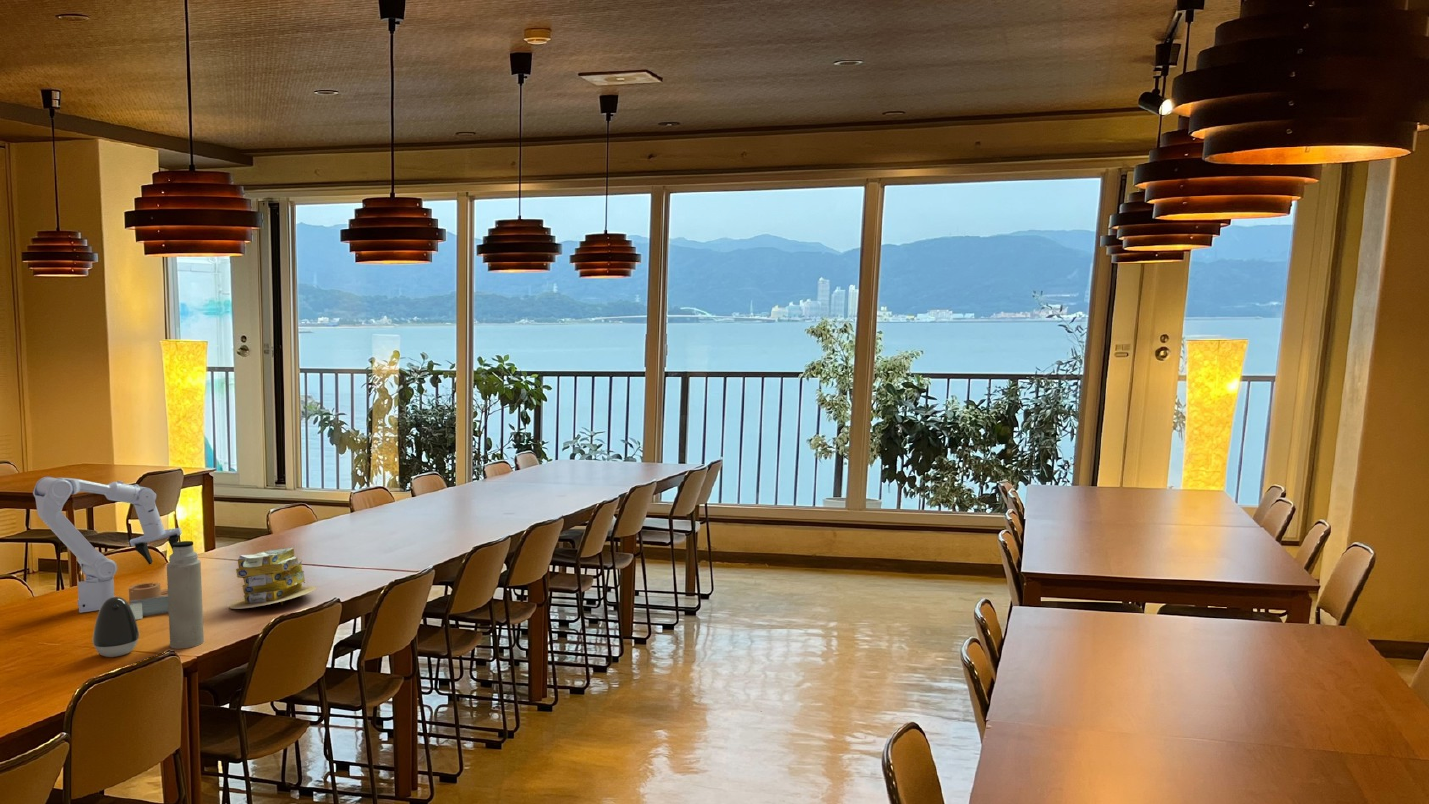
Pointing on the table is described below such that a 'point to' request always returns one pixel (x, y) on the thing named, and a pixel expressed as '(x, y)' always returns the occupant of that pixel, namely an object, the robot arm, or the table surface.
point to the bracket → (146, 591)
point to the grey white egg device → (115, 628)
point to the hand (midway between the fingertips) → (163, 559)
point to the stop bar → (149, 606)
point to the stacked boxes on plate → (270, 578)
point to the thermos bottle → (184, 597)
